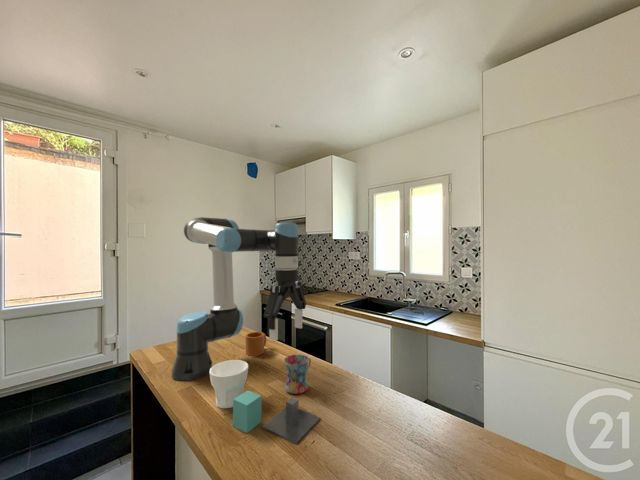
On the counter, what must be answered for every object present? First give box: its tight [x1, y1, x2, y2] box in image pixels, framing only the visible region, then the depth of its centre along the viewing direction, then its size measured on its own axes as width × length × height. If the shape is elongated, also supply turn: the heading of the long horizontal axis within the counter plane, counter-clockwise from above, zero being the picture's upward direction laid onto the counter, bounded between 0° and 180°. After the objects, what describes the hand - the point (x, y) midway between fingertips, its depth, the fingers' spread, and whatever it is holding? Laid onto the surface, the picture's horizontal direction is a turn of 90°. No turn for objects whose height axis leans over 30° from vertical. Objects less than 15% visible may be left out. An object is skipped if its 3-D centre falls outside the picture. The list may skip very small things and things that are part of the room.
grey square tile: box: [262, 397, 321, 446], centre depth 78 cm, size 12×12×6 cm
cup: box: [208, 359, 249, 409], centre depth 89 cm, size 12×12×11 cm
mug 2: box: [283, 354, 312, 395], centre depth 97 cm, size 12×9×11 cm
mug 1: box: [245, 331, 267, 357], centre depth 130 cm, size 9×12×9 cm
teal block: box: [232, 390, 262, 434], centre depth 77 cm, size 6×6×8 cm
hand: (286, 333), depth 88 cm, fingers open, 13 cm apart
